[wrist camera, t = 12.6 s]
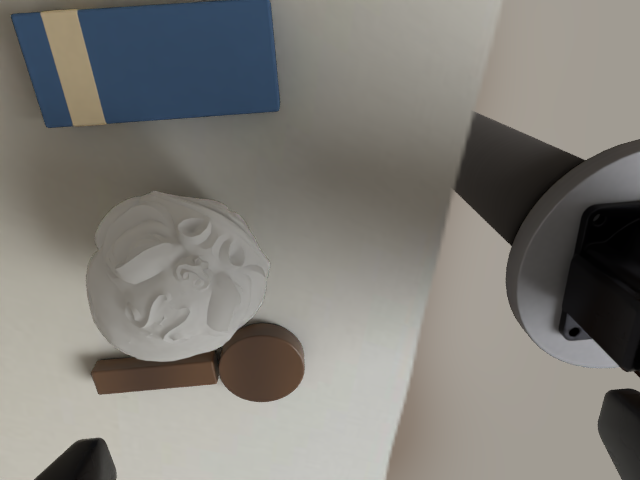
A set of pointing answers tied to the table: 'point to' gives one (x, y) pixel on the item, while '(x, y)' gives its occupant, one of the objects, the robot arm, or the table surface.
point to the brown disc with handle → (202, 369)
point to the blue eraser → (150, 61)
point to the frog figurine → (173, 276)
